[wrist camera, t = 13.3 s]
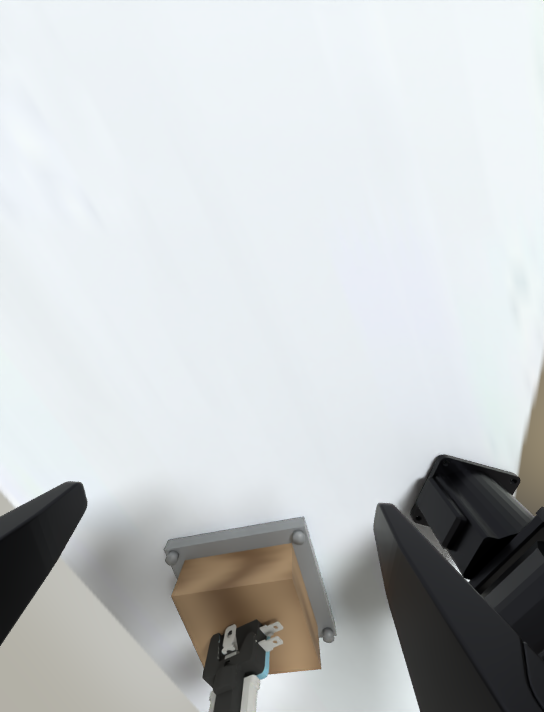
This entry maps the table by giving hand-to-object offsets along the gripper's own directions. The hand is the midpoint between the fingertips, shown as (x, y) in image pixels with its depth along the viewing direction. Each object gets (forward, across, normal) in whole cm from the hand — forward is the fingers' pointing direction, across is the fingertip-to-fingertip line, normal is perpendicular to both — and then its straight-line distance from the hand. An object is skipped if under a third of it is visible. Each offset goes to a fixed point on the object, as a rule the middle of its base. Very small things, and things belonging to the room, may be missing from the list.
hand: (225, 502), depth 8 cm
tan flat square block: (+11, +1, +22) cm, 25 cm away
